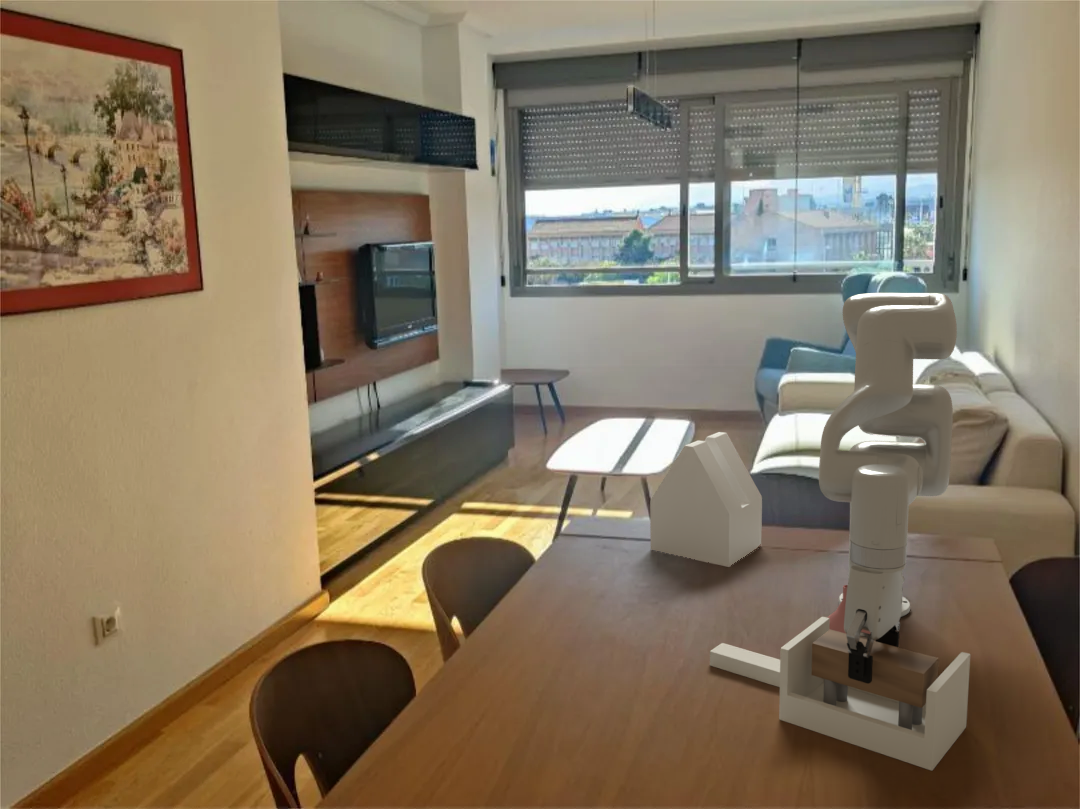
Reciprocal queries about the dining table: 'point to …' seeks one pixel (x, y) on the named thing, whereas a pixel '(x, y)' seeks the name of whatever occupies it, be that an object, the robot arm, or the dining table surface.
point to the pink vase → (840, 615)
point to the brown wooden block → (877, 668)
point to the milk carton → (707, 505)
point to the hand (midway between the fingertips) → (873, 667)
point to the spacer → (746, 663)
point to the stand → (873, 707)
